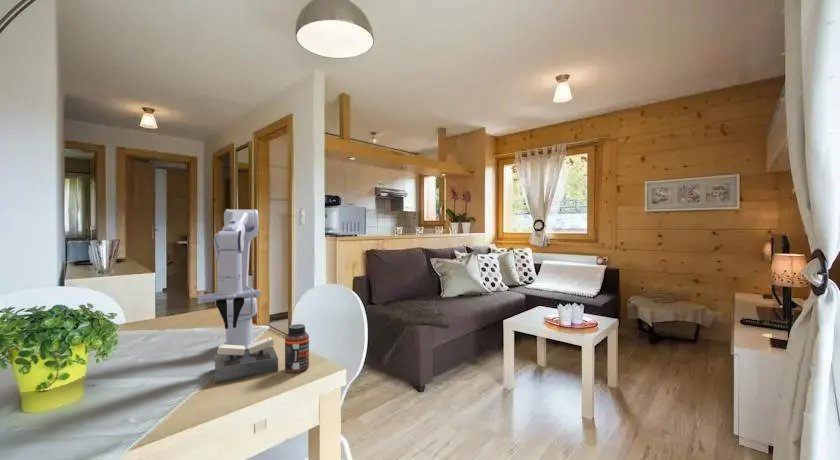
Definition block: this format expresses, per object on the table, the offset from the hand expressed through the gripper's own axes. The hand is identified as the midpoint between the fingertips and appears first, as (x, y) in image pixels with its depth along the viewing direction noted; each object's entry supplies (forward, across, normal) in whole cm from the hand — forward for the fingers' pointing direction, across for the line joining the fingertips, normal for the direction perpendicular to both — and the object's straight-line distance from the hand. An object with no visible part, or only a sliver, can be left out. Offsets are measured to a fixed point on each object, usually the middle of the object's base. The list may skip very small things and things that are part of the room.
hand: (230, 327), depth 94 cm
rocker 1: (+5, 0, -3) cm, 6 cm away
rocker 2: (+5, +7, -3) cm, 9 cm away
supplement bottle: (+11, +15, -11) cm, 21 cm away
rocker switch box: (+10, +3, -5) cm, 12 cm away
